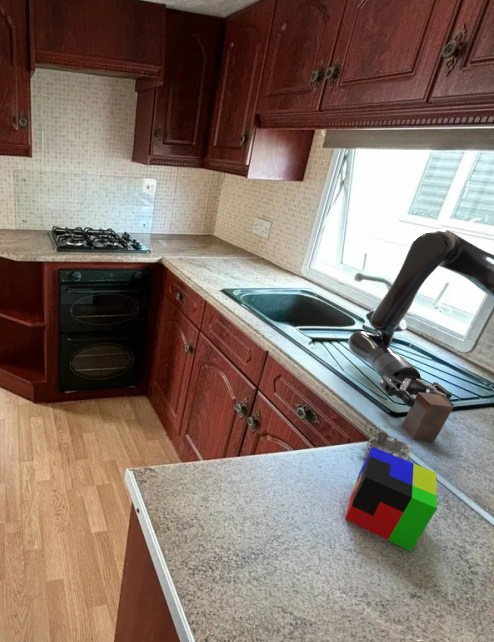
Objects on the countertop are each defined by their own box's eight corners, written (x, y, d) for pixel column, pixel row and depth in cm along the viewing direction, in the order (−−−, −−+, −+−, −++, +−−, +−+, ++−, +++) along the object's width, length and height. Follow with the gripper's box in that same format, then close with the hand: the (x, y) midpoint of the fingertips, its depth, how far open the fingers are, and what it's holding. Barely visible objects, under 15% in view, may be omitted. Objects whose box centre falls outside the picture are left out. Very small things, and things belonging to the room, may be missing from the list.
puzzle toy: (353, 486, 79) (371, 446, 75) (412, 513, 74) (436, 472, 70) (345, 519, 72) (365, 477, 67) (410, 551, 67) (437, 508, 62)
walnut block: (422, 428, 99) (440, 394, 95) (434, 442, 95) (453, 407, 90) (401, 426, 99) (418, 392, 95) (412, 439, 95) (430, 404, 90)
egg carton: (371, 438, 94) (378, 424, 92) (408, 456, 89) (416, 441, 87) (358, 459, 86) (365, 444, 85) (397, 479, 82) (406, 464, 80)
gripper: (373, 355, 107) (406, 388, 92) (429, 362, 106) (471, 397, 91) (363, 379, 110) (393, 415, 96) (417, 386, 109) (456, 423, 95)
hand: (431, 406), depth 94 cm, fingers open, 8 cm apart
